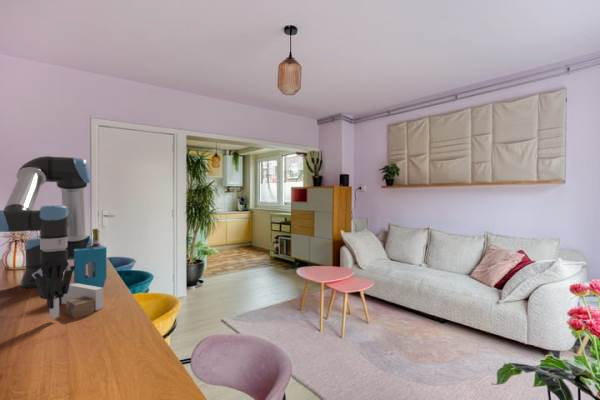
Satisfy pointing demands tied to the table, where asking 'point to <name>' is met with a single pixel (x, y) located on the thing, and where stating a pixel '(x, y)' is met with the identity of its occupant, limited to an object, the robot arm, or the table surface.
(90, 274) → the liquor
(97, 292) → the grey board
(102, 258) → the block
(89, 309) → the walnut block
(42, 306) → the table surface
